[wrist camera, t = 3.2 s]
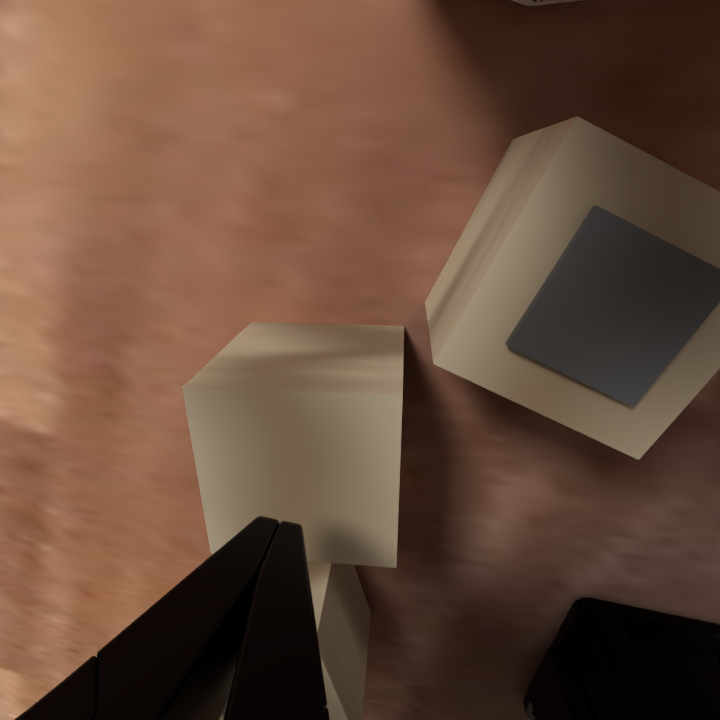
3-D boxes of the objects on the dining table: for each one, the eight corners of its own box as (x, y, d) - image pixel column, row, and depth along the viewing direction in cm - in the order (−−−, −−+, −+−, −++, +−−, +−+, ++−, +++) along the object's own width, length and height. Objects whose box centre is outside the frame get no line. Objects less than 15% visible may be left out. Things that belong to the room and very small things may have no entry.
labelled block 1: (339, 521, 16) (313, 651, 12) (371, 611, 17) (358, 755, 13) (225, 538, 17) (161, 664, 12) (265, 622, 18) (220, 760, 14)
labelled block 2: (671, 220, 11) (837, 250, 7) (564, 368, 13) (644, 466, 9) (512, 139, 11) (581, 114, 6) (424, 301, 13) (433, 367, 8)
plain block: (404, 325, 13) (402, 396, 9) (399, 456, 15) (396, 568, 10) (252, 321, 13) (182, 387, 9) (265, 449, 15) (210, 554, 11)
